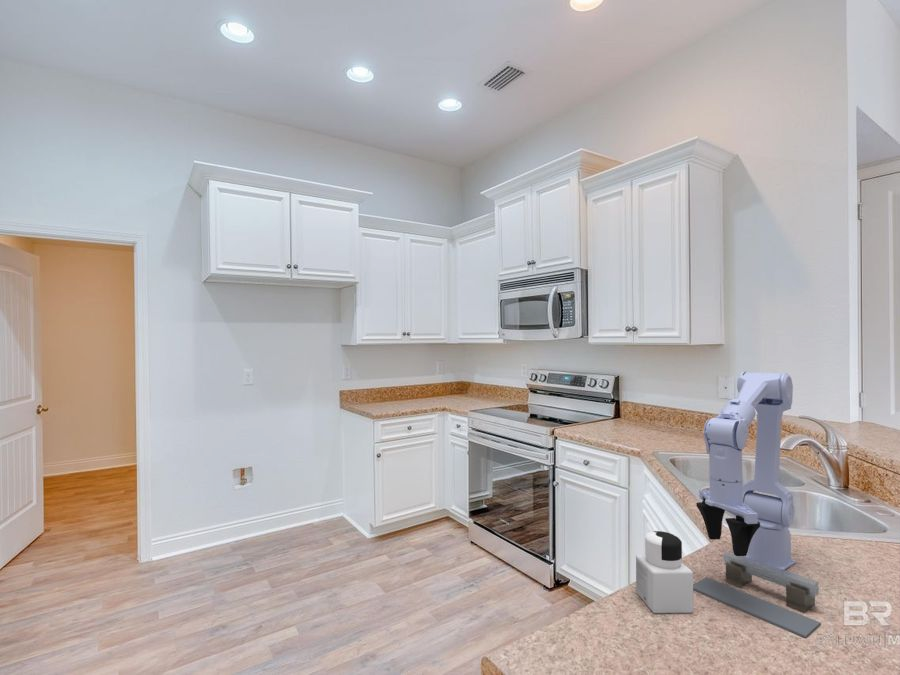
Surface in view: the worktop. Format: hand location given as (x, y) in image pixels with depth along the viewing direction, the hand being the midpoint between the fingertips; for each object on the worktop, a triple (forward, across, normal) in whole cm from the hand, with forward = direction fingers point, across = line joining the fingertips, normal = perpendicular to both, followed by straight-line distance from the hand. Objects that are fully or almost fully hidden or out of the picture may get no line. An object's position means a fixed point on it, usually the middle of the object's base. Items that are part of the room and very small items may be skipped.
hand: (726, 546), depth 92 cm
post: (+10, +4, +12) cm, 16 cm away
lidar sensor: (+10, +1, -14) cm, 17 cm away
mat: (+10, +3, +2) cm, 11 cm away
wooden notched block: (+10, -6, +6) cm, 13 cm away
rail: (+7, -1, +9) cm, 12 cm away
